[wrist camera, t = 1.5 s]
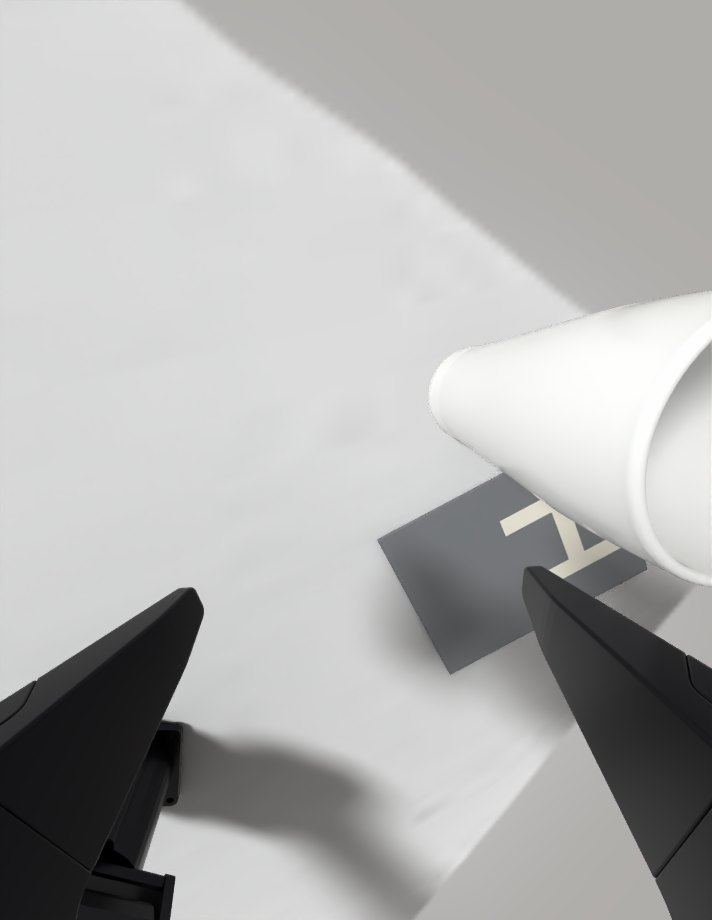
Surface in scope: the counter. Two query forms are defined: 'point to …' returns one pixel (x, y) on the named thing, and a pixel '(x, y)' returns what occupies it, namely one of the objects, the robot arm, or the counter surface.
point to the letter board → (493, 565)
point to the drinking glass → (601, 423)
